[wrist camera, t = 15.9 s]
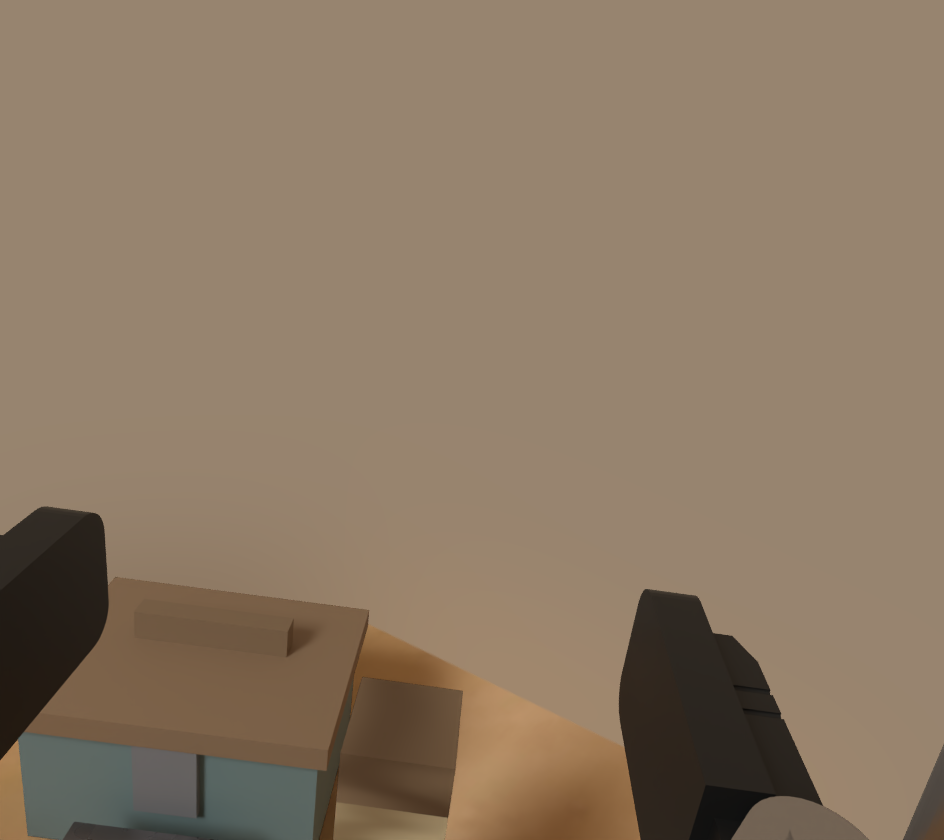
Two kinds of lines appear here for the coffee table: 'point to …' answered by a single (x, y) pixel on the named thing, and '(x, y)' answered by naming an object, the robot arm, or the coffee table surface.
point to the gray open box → (118, 833)
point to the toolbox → (197, 717)
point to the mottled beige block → (398, 762)
